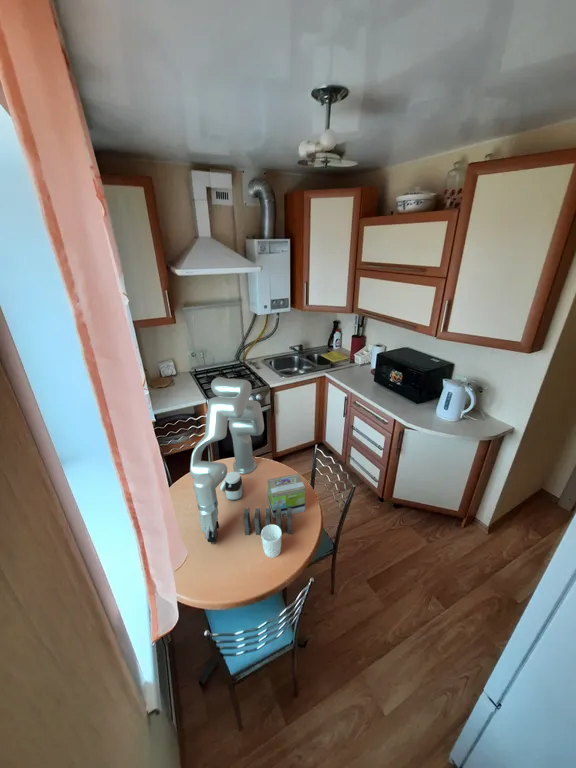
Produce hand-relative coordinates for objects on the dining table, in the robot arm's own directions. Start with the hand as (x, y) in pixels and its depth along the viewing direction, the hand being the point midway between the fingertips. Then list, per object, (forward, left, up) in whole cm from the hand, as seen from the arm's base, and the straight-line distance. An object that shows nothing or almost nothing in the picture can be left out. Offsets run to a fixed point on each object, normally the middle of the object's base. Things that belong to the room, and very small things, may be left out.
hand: (213, 534), depth 129 cm
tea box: (-16, +30, -3) cm, 34 cm away
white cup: (+5, +25, -3) cm, 25 cm away
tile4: (-4, +27, -3) cm, 27 cm away
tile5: (-4, +32, -3) cm, 32 cm away
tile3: (-4, +23, -3) cm, 23 cm away
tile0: (0, 0, -3) cm, 3 cm away
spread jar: (-25, +3, -3) cm, 25 cm away
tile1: (-4, +14, -3) cm, 14 cm away
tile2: (-4, +18, -3) cm, 19 cm away
